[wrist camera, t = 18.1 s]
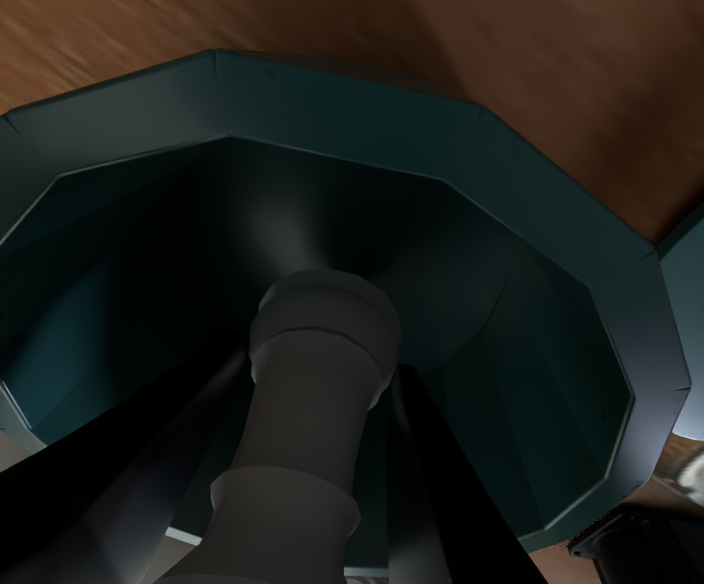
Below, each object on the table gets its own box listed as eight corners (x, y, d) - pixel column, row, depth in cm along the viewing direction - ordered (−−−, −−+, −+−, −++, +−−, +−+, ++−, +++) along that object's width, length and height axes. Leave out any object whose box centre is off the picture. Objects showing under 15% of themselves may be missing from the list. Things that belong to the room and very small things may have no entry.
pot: (613, 116, 10) (1011, 216, 3) (451, 411, 17) (484, 606, 11) (135, 14, 9) (-360, -75, 3) (185, 359, 17) (68, 528, 11)
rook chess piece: (234, 313, 11) (-2, 681, 4) (329, 228, 9) (158, 665, 3) (331, 388, 13) (262, 745, 6) (431, 329, 11) (491, 765, 4)
